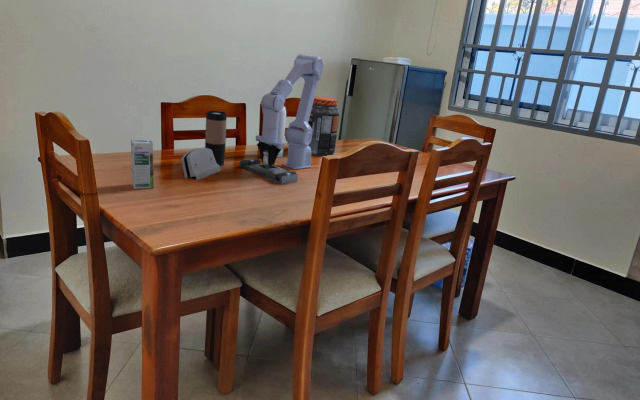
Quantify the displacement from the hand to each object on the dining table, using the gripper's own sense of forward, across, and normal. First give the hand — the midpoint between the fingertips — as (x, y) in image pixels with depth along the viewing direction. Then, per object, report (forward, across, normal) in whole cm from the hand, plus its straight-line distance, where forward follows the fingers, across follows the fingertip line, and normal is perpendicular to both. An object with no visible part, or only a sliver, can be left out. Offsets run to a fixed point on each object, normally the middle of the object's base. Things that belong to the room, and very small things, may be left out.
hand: (267, 163), depth 164 cm
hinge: (+4, -10, -22) cm, 25 cm away
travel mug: (+4, -19, -11) cm, 22 cm away
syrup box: (+4, -4, -46) cm, 46 cm away
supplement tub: (+4, -20, +47) cm, 51 cm away
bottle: (+4, -22, +21) cm, 31 cm away
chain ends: (+4, 0, 0) cm, 4 cm away
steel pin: (+2, 0, 0) cm, 3 cm away
